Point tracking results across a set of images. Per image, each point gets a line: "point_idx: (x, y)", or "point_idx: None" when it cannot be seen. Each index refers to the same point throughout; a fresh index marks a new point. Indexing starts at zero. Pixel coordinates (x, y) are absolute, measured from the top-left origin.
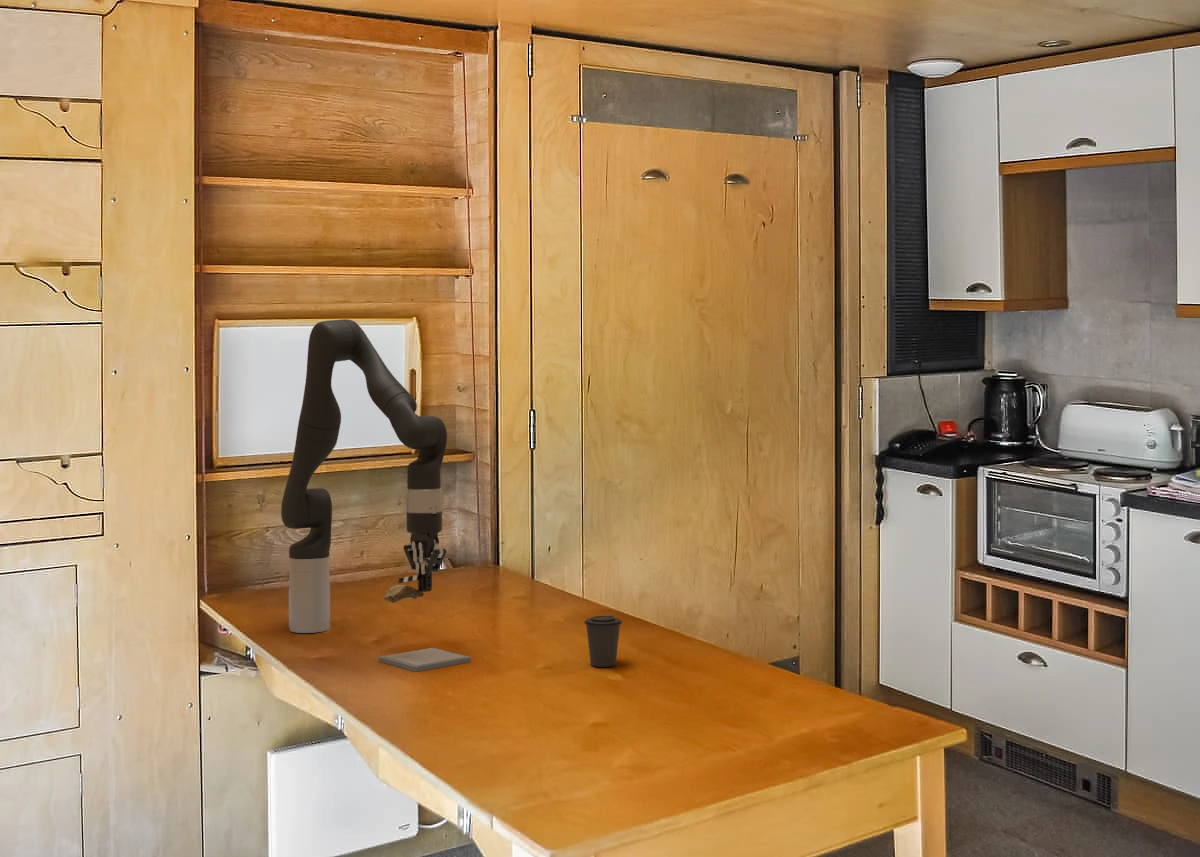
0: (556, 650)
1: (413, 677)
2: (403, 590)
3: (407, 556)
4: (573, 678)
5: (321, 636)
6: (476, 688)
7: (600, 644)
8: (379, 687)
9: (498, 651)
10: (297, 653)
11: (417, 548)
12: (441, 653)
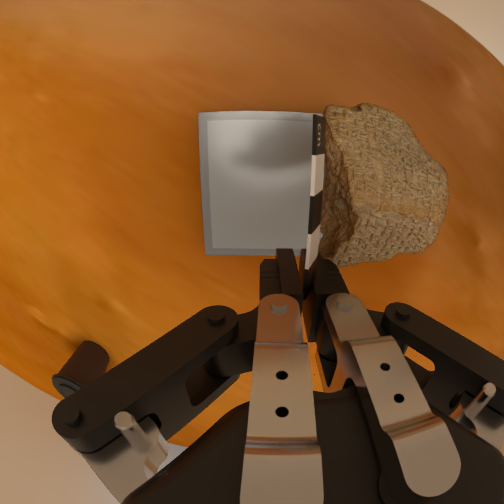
0: None
1: (161, 85)
2: (340, 172)
3: (476, 350)
4: (41, 282)
5: None
6: (40, 145)
7: (68, 360)
8: (139, 7)
9: None
10: (493, 87)
11: (380, 446)
12: (278, 232)
